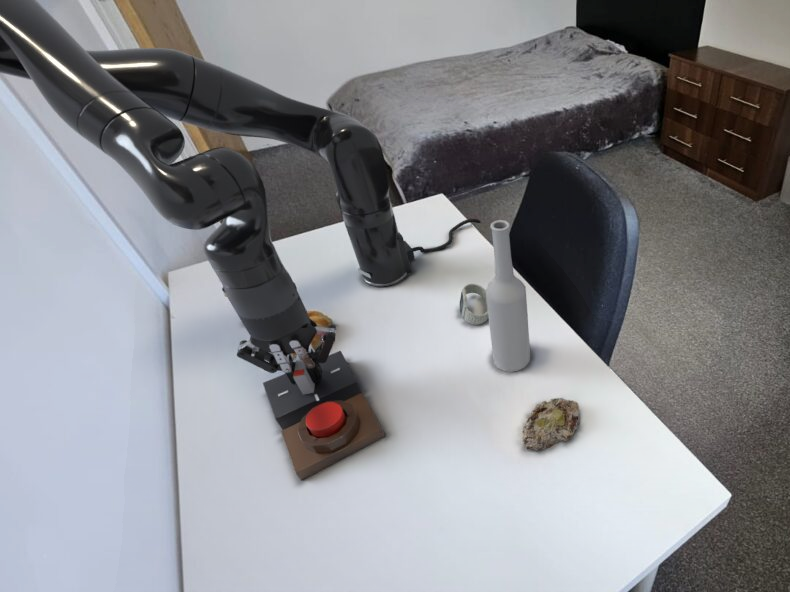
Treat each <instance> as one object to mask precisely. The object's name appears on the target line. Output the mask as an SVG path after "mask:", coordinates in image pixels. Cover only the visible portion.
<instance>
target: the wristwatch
mask: <svg viewBox="0 0 790 592" xmlns="http://www.w3.org/2000/svg"><path fill="white" fill-rule="evenodd" d="M469 294H475V295H478V296H480V297H481V298H482V300H484V302H485V310H486V311H485V312H484V314H483V313H482V314H475V313H473V312H471V311H470V309H468V296H467V295H469ZM459 311H460V316H461V317H462V318H463V319H464V320H465V322H467V323H469V324H471V325H476V326H477V325H478V326H479V325H482V324H484V323H486V322H487V321H488V320H489V317H488V308H487V300H486V288H485V287H483V286H482V285H479V284H477V283H467V284H465V285H464V286H463V288H462V289H461V292H460V297H459Z"/></svg>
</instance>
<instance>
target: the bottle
mask: <svg viewBox="0 0 790 592" xmlns="http://www.w3.org/2000/svg"><path fill="white" fill-rule="evenodd" d="M510 228H511V224H510V223H509V222H508V220H503V219H499V220H495V221H493V222H491V223H490V229H491V233H492V245H493V254H494V278H493V279H491V281H489V283H488V284H487V286H486V288H485V290H486V300H487V308H488V324H489V325H488V326H489V333H490V341H491V350H492V357H493V363H494V365H495V367H496V368H497V369H499V370H501V371H503V372H508V373H511V372H512V373H513V372H518V371H521V370H523V369H524V368H526V367H527V366H528V365H529V363H530V361H531V347H530V346H531V344H530V343H531V342H530V330H529V329H530V328H529V317H528V316H529V315H528V303H527V302H528V301H527V299H528V298H527V288H526V285H525V284H524V282H523V281H522V280H521V279H520V278H518V277H517V276H516V275H515V273H514V266H513V261H512V251H511V242H510V241H511V240H510V230H509V229H510Z"/></svg>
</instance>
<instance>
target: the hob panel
mask: <svg viewBox="0 0 790 592" xmlns="http://www.w3.org/2000/svg"><path fill="white" fill-rule="evenodd" d="M319 364H320V366H321V368H322V378H321V379H319V383H315V388H314V393H310V394H305V395H303V394H302V392H301V390H300V389H299V387H297V385H296V384H294V385H293V384H292V383H291V382H290V380H289V378H288V377H287V375H286V373H283V374H281V375H279V376H276V377H273V378H272V379H269V380H267V381H264V382H263V383H262V386H263V388H264V391H265V394H266V397H267V399H268V403H269V405H270V409H271V411H272V414H273V417H274V420H275V421H276V423H277V424H278V426H279V427H280V429H281V431H282V430H284V429H286V428H288V427H290V426H293V425H295V424H297V423H299V422H301V419H302V418H303V417H304V416H305V415H306V414H307V413H308V412H309V411H310V410H311V409H312V408H314V407H316V406H318V405H320V404H323V403H325V402H327V401H338V400H342V401H346V400H348V399H350V398H352V397H354V396H356V395H358V394H360V393H363V391H362V389H361V386H360V384H359V382H358V380H357V379H356V376H355V374H354V373H353V371H352V369H351V367H350V365H349V363H348V361H347V360H346V358H345V355H344V354H343V352H342V351H341V350H338V351H336V352H334V353H332V354H329V356H328V358H327V361H326V362H325V363H319Z"/></svg>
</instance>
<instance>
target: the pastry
mask: <svg viewBox="0 0 790 592" xmlns="http://www.w3.org/2000/svg"><path fill="white" fill-rule="evenodd" d="M306 311H307V310H306ZM307 313H308V315H309V318H310V319H311V320H313V321H314V322H315V323H316V324H317V326H320V327H326V328H327V327H328V326H329V325H333V319H332V318H331V317H329V316H328V315H327V314H324V313H323V312H321V311H319V310H308V311H307ZM311 344H312V347H313V349H314V351H315V352H316V351H318V350H317V349H319V347H320V345H321V341H320V340H319V336H318V335H315V337H314V338H313V340H312V342H311ZM292 356H293V358H296V357H297V354H296V353H292Z"/></svg>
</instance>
